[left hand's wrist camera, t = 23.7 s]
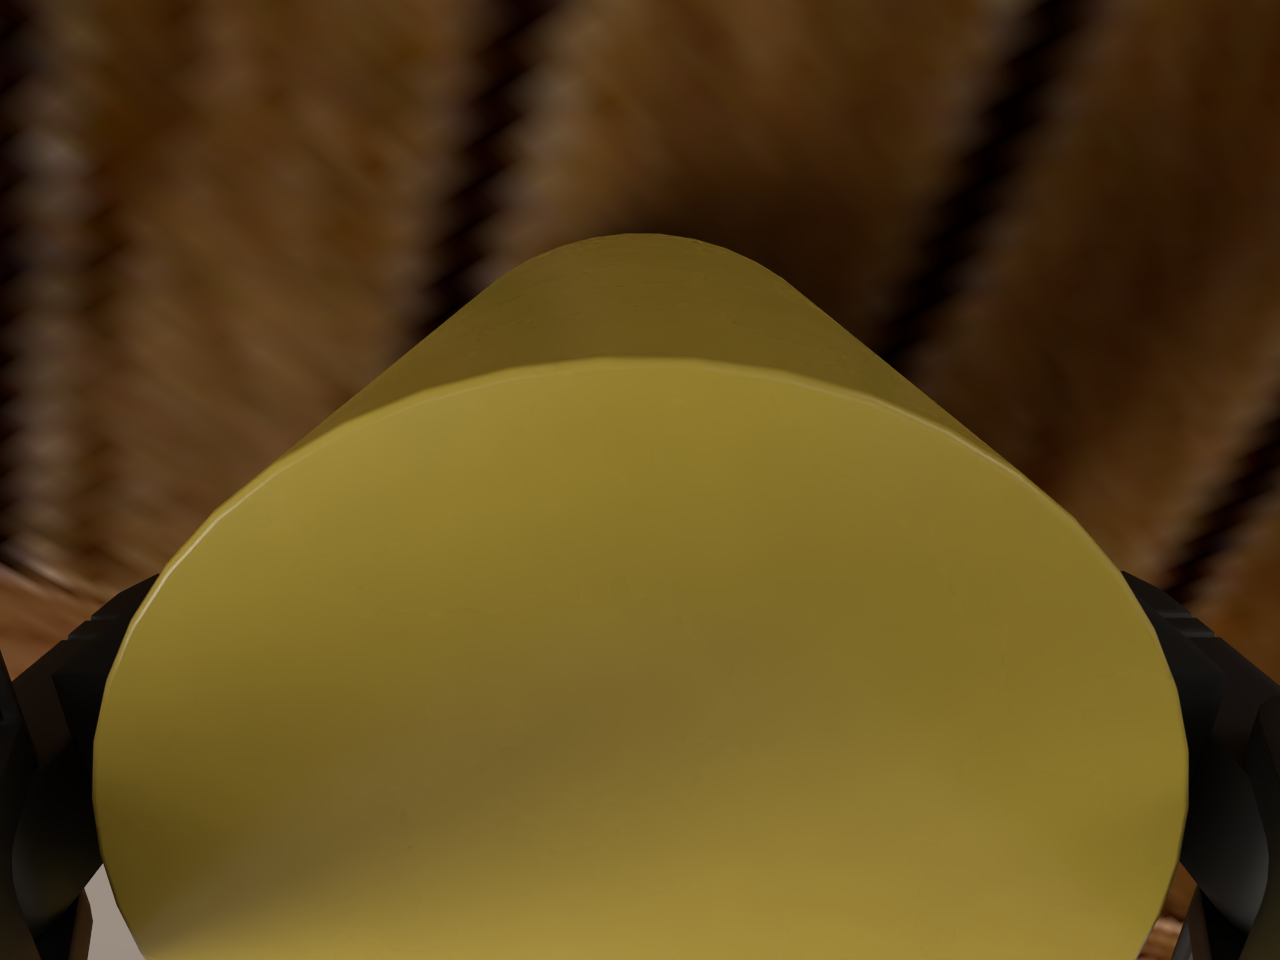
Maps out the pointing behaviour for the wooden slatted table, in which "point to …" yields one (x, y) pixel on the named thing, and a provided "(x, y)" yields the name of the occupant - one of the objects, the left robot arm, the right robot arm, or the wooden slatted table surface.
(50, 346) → the wooden slatted table surface
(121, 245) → the wooden slatted table surface
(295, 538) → the yellow cylinder
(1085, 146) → the wooden slatted table surface
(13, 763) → the left robot arm
